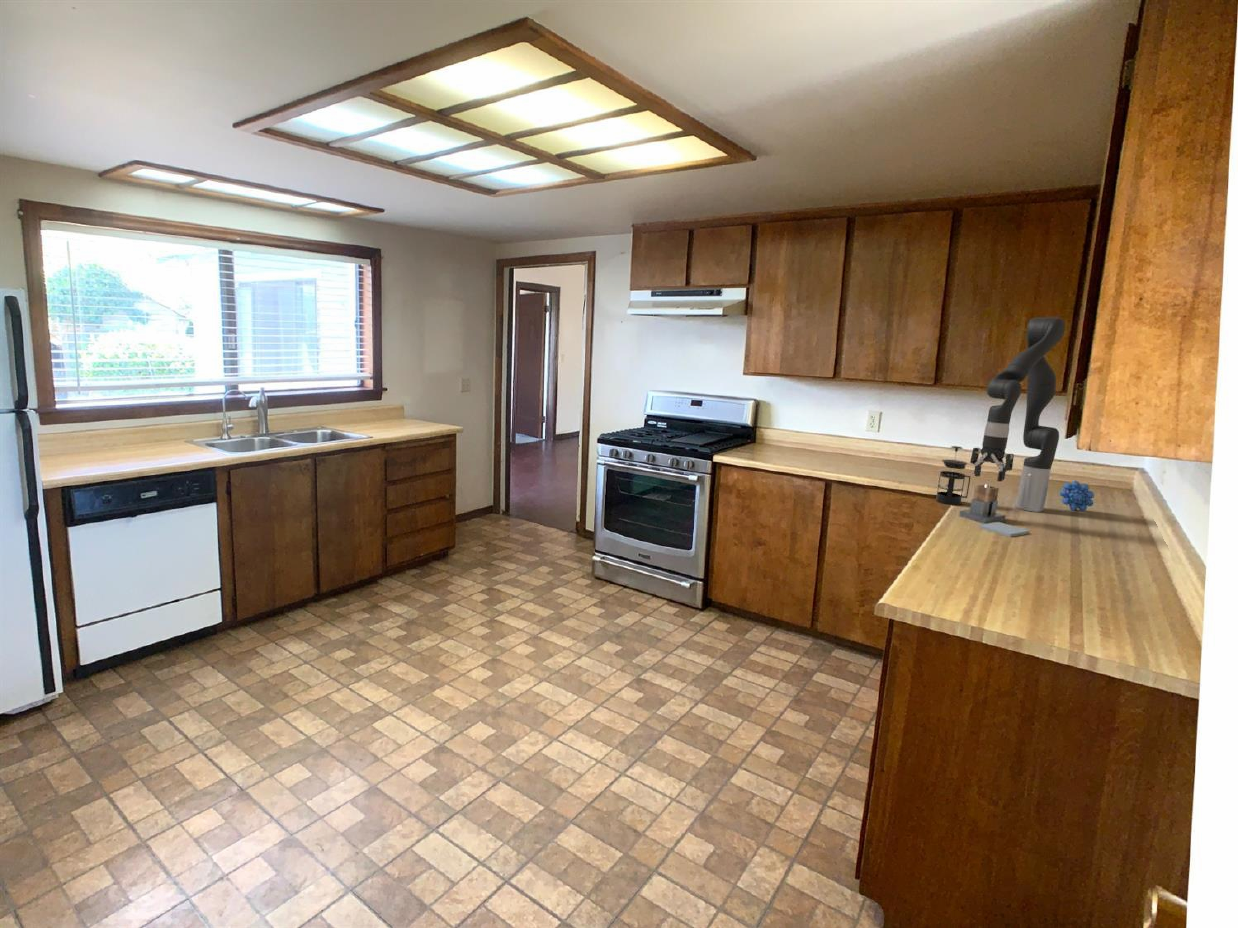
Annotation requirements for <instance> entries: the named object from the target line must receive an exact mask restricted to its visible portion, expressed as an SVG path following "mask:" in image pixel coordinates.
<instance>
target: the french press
mask: <svg viewBox="0 0 1238 928" xmlns="http://www.w3.org/2000/svg"><path fill="white" fill-rule="evenodd" d="M951 448H952V449H954V452H955V454H954V459H942V460H941V461H942V462H943V465H944V466H945V467H946V468H949V469H952V470H951V471H949V470H947V471H946V470H942V471H940V472H939V479H938V485H937V490H936V491H937V492H936V497H935V499H934V500H935V502H936V503H939V504H942V505H946V506H961V505H962V498H963V499H967V498H968V495H969V489H970V482H971V475H966V474H965V473H962V472H955V469H956V470H965V469H966V466H967V465H968V462H966V461H962V460H958V459H956V458H957V453H958V451H959V450H960V449H963V447H961V446H956V445H951ZM941 477H942V478H946V479H948V484H940V481H941ZM966 478H968V481H967V482H968V483H967V489H966V495H963V491H964V484H965V479H966ZM955 480H963V482H962V487H961V486H957V485H955ZM939 488H940V489H942V490H946V491H939ZM955 491H956V492H959V491H961V494H959V493H955Z"/></svg>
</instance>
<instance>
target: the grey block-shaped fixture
mask: <svg viewBox="0 0 1238 928" xmlns="http://www.w3.org/2000/svg"><path fill="white" fill-rule="evenodd" d="M983 485H984V487H986V488H990V486H992V485H991V484H990V483H984V484H983ZM998 503H999V501H998V500H997V501H995V502H984V501H980V500H976V499H973V498H971V502H970V508H969V509H965V510H959V512H958V513H959V514H958V517H960V518H965V519H968V520H971V521H974V522H978V523H982V524H988V523H994V522H1002V521H1003V522H1005V520H1006V516H1007V515H1006V514H1002V513H998V512H997V510H998Z"/></svg>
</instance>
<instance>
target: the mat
mask: <svg viewBox="0 0 1238 928" xmlns="http://www.w3.org/2000/svg"><path fill="white" fill-rule="evenodd" d="M978 528H979V529H982V530H987V531H989V532H993V533H996V534H999V535H1002V536H1004V537H1005V536H1006V537H1008V538H1011V537H1012V538H1013V537H1016V536H1023V535H1028V534H1030V530H1027V529H1026V528H1021V527H1017V526H1014V525H1011V524H1006V523H1003V522H1001V521H998V522H992V523H982V524H978Z"/></svg>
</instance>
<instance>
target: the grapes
mask: <svg viewBox="0 0 1238 928" xmlns="http://www.w3.org/2000/svg"><path fill="white" fill-rule="evenodd" d="M1062 488H1063V489H1060V490H1059V495H1060V496H1061V497H1062V499H1061V501H1062V502H1061V503H1062V504H1063V505H1066V506H1069V508H1070V510H1072V511H1077V510H1080V511H1081V512H1085V511H1087V509H1088V507H1092V506H1094V503H1095V502H1094V501H1093V499H1094V497H1095V493H1094V492H1093V491H1092V490H1089V489H1090V487H1089V485H1088V484H1087V483H1082V484H1081V483H1080V482H1079V481H1078V480H1073V481H1071V483H1069V482H1065V483H1063V485H1062Z"/></svg>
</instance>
